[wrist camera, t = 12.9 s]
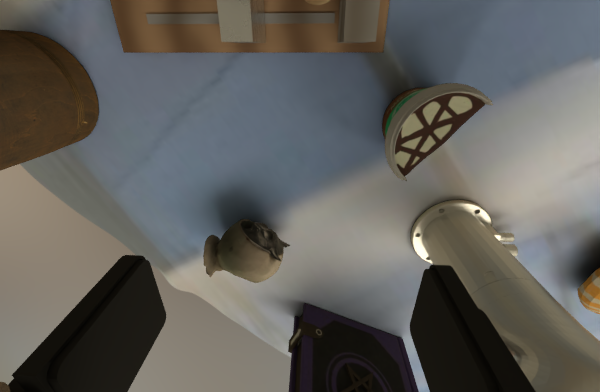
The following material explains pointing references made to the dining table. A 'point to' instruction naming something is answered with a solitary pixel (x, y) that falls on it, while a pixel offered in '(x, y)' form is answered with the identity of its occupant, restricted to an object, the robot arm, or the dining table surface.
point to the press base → (278, 26)
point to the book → (346, 356)
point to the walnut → (317, 2)
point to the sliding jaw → (242, 21)
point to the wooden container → (41, 98)
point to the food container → (426, 122)
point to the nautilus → (591, 292)
